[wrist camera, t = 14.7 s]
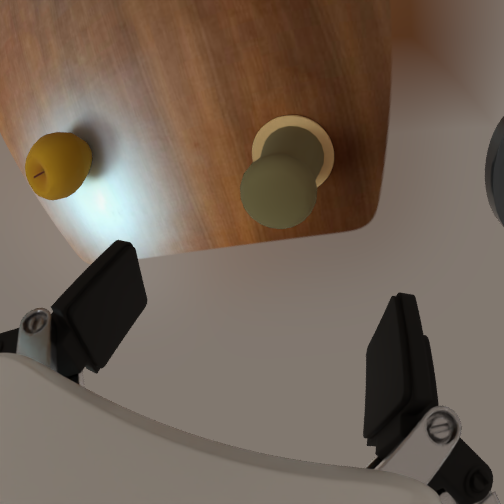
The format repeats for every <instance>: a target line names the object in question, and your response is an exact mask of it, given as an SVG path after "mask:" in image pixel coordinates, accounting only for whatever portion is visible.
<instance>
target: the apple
mask: <svg viewBox="0 0 504 504" xmlns="http://www.w3.org/2000/svg"><path fill="white" fill-rule="evenodd" d="M92 159H93V158H92V151H91V149H90V147H89V145H88V143H87V142H86V141H84V140H83V139H81V138H79V137H78V136H76V135H74V134H73V133H63V132H56V133H51V134H47V135H44V136H43V137H41V138H40V139H39V140H38V141H37V142H36V143H35V144H34V145H33V147H32V148H31V150H30V152H29V154H28V156H27V158H26V164H25V170H26V176H27V179H28V182H29V184H30V186H31V187H32V189H33V191H34V192H35V193H36V194H37V195H38V196H40V197H43V198H45V199H48V200H57V199H61V198H66V197H68V196H70V195H71V194H73V193H74V192H75V191H76V190H77V189H78V188H79V187H80V186H81V185H82V183H83V181H84V180H85V178H86V176H87V175H88V173H89V170H90V167H91V163H92Z"/></svg>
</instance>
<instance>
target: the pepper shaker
mask: <svg viewBox="0 0 504 504" xmlns="http://www.w3.org/2000/svg"><path fill="white" fill-rule="evenodd" d="M323 164H324V152H323V148H322V145H321V143H320V142H319V140H318V139H317V137H316V136H315V135H314V134H312V133H311V132H310V131H309V130H306V129H304V128H301V127H298V126H286V127H282V128H279V129H277V130H276V131H274V132H273V133H271V134H270V135H269V137H268V138H267V139H266V140H265V143H264V146H263V149H262V152H261V156H260V158H259V159H258V160H256V161H255V162H253V163H252V164H251V165H250V167H249V168H248V169H247V171H246V172H245V173H244V175H243V178H242V182H241V186H240V192H241V200H242V203H243V206H244V208H245V210H246V211H247V212H248V214H249V215H250V216H251V217H252V218H253V219H254V220H256V221H257V222H258V223H260V224H262V225H264V226H267V227H269V228H277V229H285V228H290V227H294V226H295V225H297V224H299V223H301V222H303V221H304V220H305V219H306V217H307V216H308V215H309V214H310V213H311V212H312V210H313V208H314V205H315V203H316V197H317V185H316V181H315V180H316V178H317V176H318V175H319V173H320V171H321V168H322V166H323Z"/></svg>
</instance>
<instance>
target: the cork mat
mask: <svg viewBox="0 0 504 504" xmlns="http://www.w3.org/2000/svg"><path fill="white" fill-rule="evenodd" d="M286 126H298V127H301V128H304V129H306V130H309V131H310V132H311V133H312V134H314V135H315V136H316V137H317V139H318V140H319V142H320V143H321V145H322V148H323V152H324V164H323V166H322V168H321V171H320V173H319V175H318V176H317V178H316V180H315V181H316V185H317V187H318V186H320V185H321V184H322V183H323V182H324V181H325V180H326V179H327V177H328V176H329V174H330V172H331V170H332V168H333V163H334V149H333V145H332V142H331V139H330V137H329V136H328V134H327V133H326V131H325V130H324V129H323V128H322V127H321V126H320V125H319V124H318V123H316V122H315V121H313V120H311V119H309V118H306V117H303V116H299V115H284V116H280V117H277V118H275V119H273V120H271V121H269V122H268V123H266V124H265V125H264V126H263V127H262V128H261V129H260V131H259V132H258V133H257V135H256V137H255V139H254V142H253V147H252V158H253V162H255V161H256V160H258V159H259V158H260V156H261V152H262V149H263V146H264V143H265V140H266V139H267V138H268V137H269V135H270V134H271V133H273V132H274V131H276V130H277V129H279V128H282V127H286Z"/></svg>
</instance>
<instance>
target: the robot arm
mask: <svg viewBox="0 0 504 504" xmlns="http://www.w3.org/2000/svg"><path fill="white" fill-rule="evenodd" d="M146 304H147V296H146V292H145V288H144V284H143V280H142V276H141V271H140V267H139V263H138V258H137V254H136V250H135V248H134V247H133V245H132V244H131V243H130V242H126V241H121V240H116V241H115V242H114V243H113V244H112V245H111V246H110V247H109V248H108V249H106V250H105V251H104V252H103V253H102V254H101V255H100V256H99V257H98V258H97V259H96V260H95V261H94V262H93V263H92V264H91V265H90V266H89V267H88V268H87V269H86V270H85V271H84V272H83V273H82V274H81V275H80V276H79V277H78V278H77V279H76V280H75V282H74V283H73V284H72V285H71V286H70V287H69V288H68V289H67V290H66V291H65V292H64V293H63V294H62V295H61V296H60V298H58V300H57V301H56V302H55V303H54V304H53V305H52V306H51V308H52V310H53V313H52V314H50V312H49V311H48V310H47V309H45V308H36V309H34V310H31V311H30V312H28V313H27V314H26V315H25V316H24V317H23V319H22V320H21V323H20V327H19V328H17V329H14V330H10V331H7V332H4V333H0V504H500V502H499V499H498V497H497V495H496V493H495V492H493V493H492V492H491V488H492V483H493V475H492V471H491V469H490V468H489V466H488V465H487V464H486V463H485V462H484V461H483V460H482V459H481V458H480V457H479V456H478V455H477V454H476V453H475V452H474V451H473V450H472V449H471V448H470V447H469V446H468V445H467V444H466V443H465V442H464V441H463V440H462V439H461V438H460V435H461V430H462V426H461V421H460V419H459V417H458V415H457V414H456V413H455V412H454V411H453V410H452V409H450V408H449V407H445V406H438V396H437V388H436V380H435V373H434V366H433V360H432V354H431V349H430V343H429V339H428V337H427V336H426V335H423V331H422V325H421V320H420V316H419V311H418V306H417V302H416V298H415V296H414V295H411V294H405V293H398V294H397V296H392V297H391V299H390V301H389V303H388V306H387V308H386V310H385V312H384V315H383V317H382V319H381V321H380V323H379V325H378V327H377V329H376V331H375V334H374V336H373V337H372V339H371V341H370V343H369V345H368V348H367V353H366V396H365V397H366V398H365V416H364V431H363V436H364V438H367V446H376V455H377V456H376V457H375V458H374V459H373V460H372V461H371V462H370V463H369V464H368V465H367V466H366V467H365V468H356V467H347V466H337V465H329V464H321V463H314V462H307V461H301V460H295V459H289V458H283V457H278V456H273V455H267V454H263V453H259V452H254V451H250V450H246V449H242V448H238V447H233V446H230V445H226V444H223V443H219V442H216V441H212V440H209V439H205V438H202V437H199V436H196V435H193V434H190V433H187V432H184V431H181V430H179V429H176V428H173V427H170V426H167V425H165V424H162V423H160V422H157V421H155V420H152V419H150V418H147V417H145V416H142V415H140V414H138V413H135V412H133V411H131V410H129V409H127V408H124V407H122V406H120V405H118V404H116V403H114V402H112V401H109V400H107V399H105V398H103V397H101V396H99V395H97V394H95V393H93V392H92V391H90V390H88V389H86V388H85V387H84V379H83V369H84V367H86V368H87V369H88V370H90V371H92V372H94V373H98V371H99V370H100V368H103V367H104V366H105V365H106V364H107V362H108V361H109V359H110V358H111V356H112V354H113V353H114V352H115V350H116V349H117V347H118V346H119V344H120V343H121V341H122V340H123V338H124V337H125V335H126V334H127V333H128V331H129V329H130V328H131V326H132V325H133V324H134V322H135V321H136V319H137V318H138V317H139V315H140V314H141V312H142V311H143V310H144V308H145V307H146Z"/></svg>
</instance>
